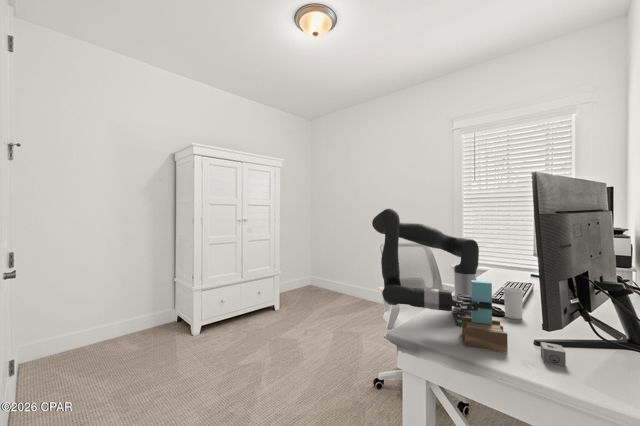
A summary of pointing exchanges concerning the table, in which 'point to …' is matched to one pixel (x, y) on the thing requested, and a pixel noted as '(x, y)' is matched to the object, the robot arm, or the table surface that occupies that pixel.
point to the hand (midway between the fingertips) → (490, 304)
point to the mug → (513, 302)
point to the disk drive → (460, 316)
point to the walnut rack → (484, 336)
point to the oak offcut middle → (483, 326)
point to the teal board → (482, 294)
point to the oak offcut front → (484, 328)
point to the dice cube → (553, 354)
